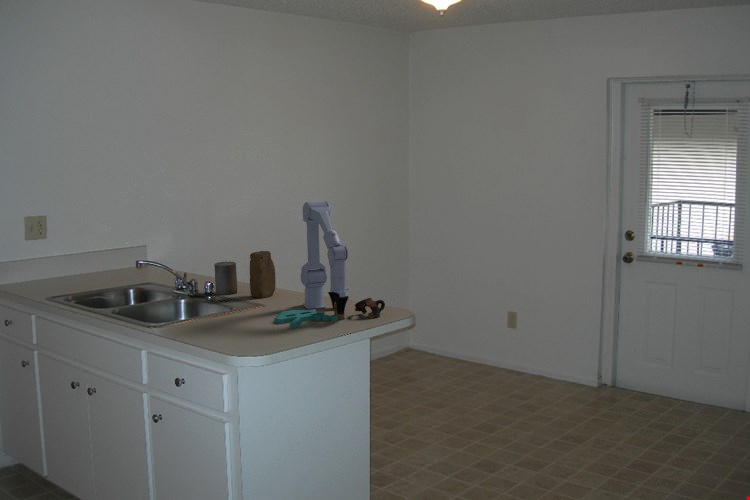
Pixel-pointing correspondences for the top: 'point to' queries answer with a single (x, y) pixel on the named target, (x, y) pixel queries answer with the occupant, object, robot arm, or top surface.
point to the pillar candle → (225, 278)
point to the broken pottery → (372, 304)
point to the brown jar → (262, 274)
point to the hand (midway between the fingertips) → (338, 312)
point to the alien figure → (302, 317)
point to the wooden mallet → (340, 316)
